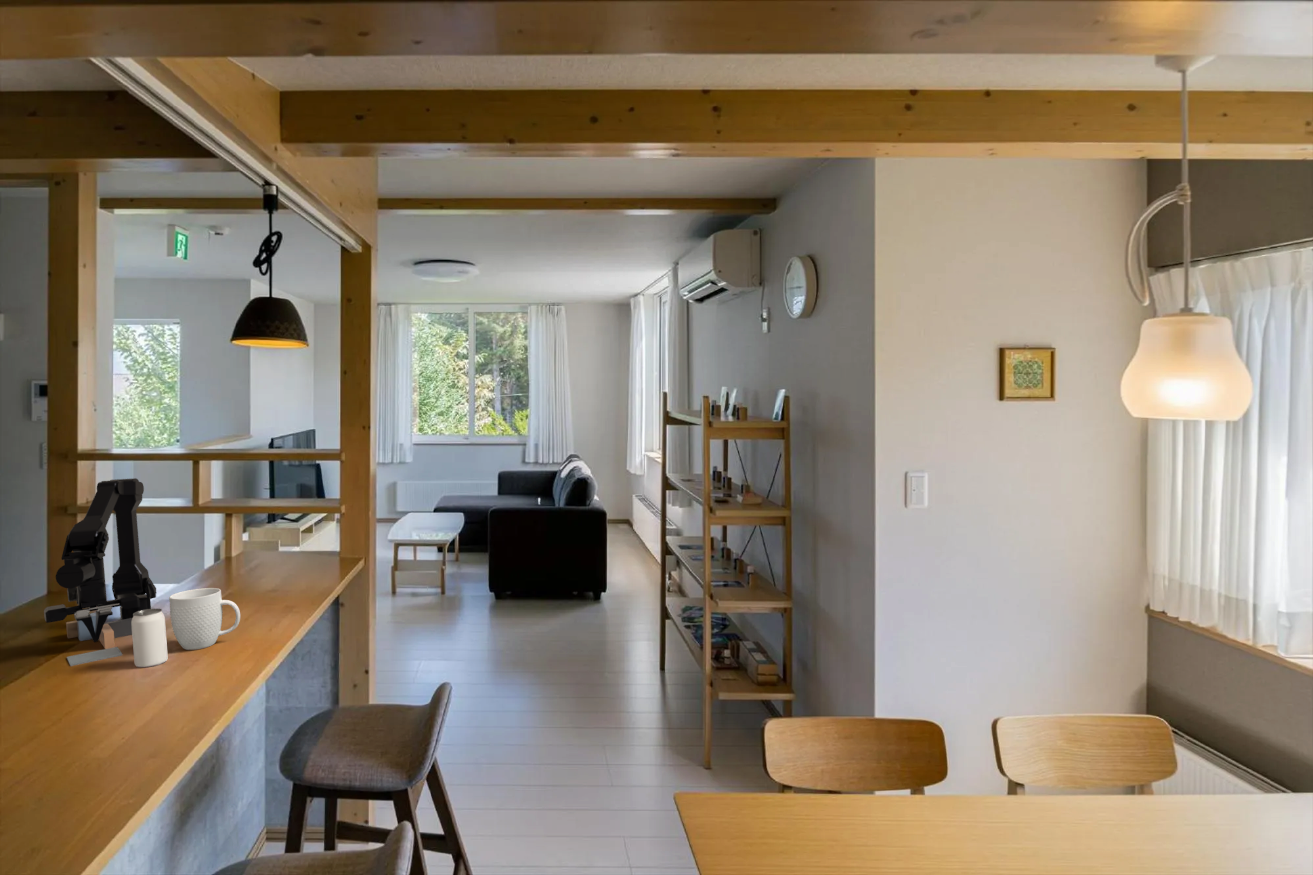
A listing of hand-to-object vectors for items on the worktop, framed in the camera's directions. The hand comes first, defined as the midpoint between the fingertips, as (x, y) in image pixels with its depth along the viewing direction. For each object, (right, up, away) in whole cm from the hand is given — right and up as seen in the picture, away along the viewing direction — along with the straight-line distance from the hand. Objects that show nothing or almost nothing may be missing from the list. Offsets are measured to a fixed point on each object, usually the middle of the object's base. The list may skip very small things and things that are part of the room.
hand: (95, 641), depth 195 cm
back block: (-12, -2, +13) cm, 18 cm away
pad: (+4, -2, -6) cm, 8 cm away
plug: (-9, -2, +10) cm, 13 cm away
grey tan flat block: (+4, -1, +7) cm, 8 cm away
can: (+22, -2, -12) cm, 25 cm away
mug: (+27, -1, 0) cm, 27 cm away
